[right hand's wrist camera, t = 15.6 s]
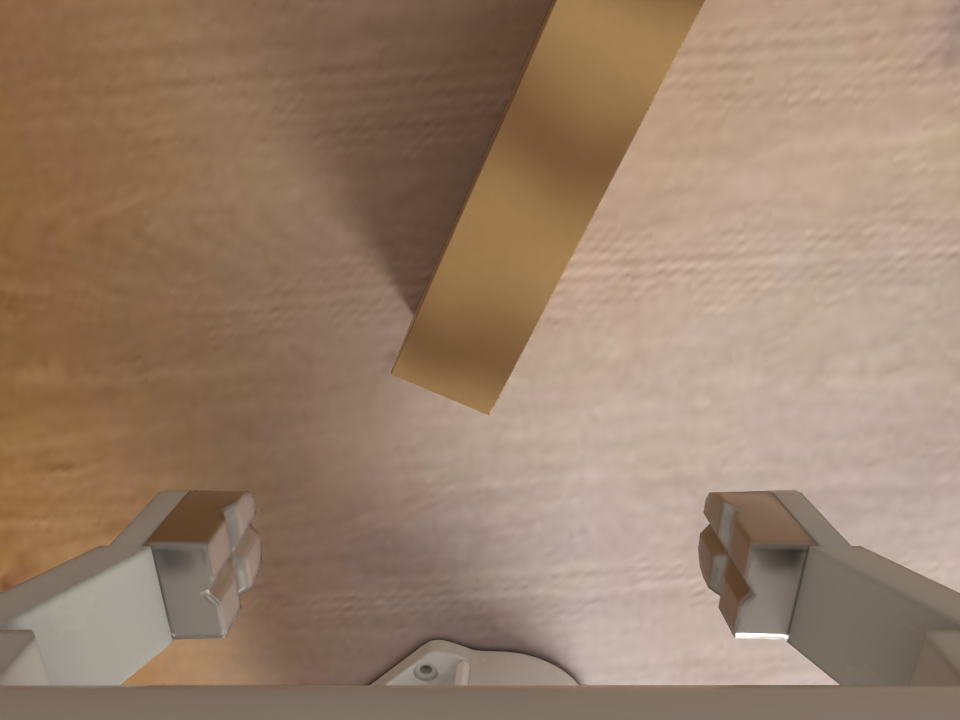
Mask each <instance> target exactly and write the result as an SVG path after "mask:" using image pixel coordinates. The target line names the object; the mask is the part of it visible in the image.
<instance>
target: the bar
mask: <svg viewBox="0 0 960 720" xmlns="http://www.w3.org/2000/svg"><path fill="white" fill-rule="evenodd" d="M704 2H705V0H552V3H551V5H550V7H549V9H548V12H547V14H546V16H545V19H544V21H543V23H542V25H541V28H540V30H539V32H538V34H537V37H536V39H535V41H534V43H533V46H532V48H531V50H530V53H529V55H528V57H527V59H526V62H525V64H524V66H523V68H522V71H521V73H520V75H519V77H518V80H517V82H516V84H515V87H514V89H513V91H512V93H511V96H510V98H509V100H508V102H507V105H506V107H505V109H504V111H503V114H502V116H501V118H500V121H499V123H498V125H497V127H496V130H495V132H494V134H493V136H492V139H491V141H490V143H489V145H488V148H487V150H486V152H485V155H484V157H483V159H482V161H481V164H480V166H479V168H478V170H477V173H476V175H475V177H474V179H473V182H472V184H471V186H470V189H469V191H468V193H467V195H466V198H465V200H464V202H463V204H462V207H461V209H460V211H459V214H458V216H457V218H456V220H455V223H454V225H453V227H452V229H451V232H450V234H449V236H448V238H447V241H446V243H445V245H444V248H443V250H442V252H441V254H440V257H439V259H438V261H437V263H436V266H435V268H434V270H433V272H432V275H431V277H430V279H429V282H428V284H427V286H426V288H425V291H424V293H423V295H422V297H421V300H420V302H419V304H418V306H417V309H416V311H415V313H414V316H413V318H412V321H411V323H410V326H409V328H408V331H407V333H406V336H405V338H404V341H403V344H402V346H401V349H400V351H399V354H398V356H397V359H396V361H395V364H394V366H393V369H392V372H391V374H392V375H395V376H397V377H400V378H402V379H404V380H407V381H409V382H411V383H414V384H416V385H418V386H421V387H423V388H426V389H428V390H430V391H433V392H435V393H437V394H440V395H442V396H445V397H447V398H449V399H452V400H454V401H456V402H459V403H461V404H463V405H466V406H468V407H471V408H473V409H475V410H478V411H480V412H482V413H485V414H487V415H490V414H491V412H492V410H493V408H494V406H495V404H496V402H497V400H498V398H499V396H500V394H501V392H502V390H503V388H504V387H505V385H506V383H507V381H508V379H509V377H510V375H511V373H512V371H513V369H514V367H515V365H516V363H517V362H518V360H519V358H520V356H521V354H522V352H523V350H524V348H525V346H526V344H527V342H528V340H529V338H530V337H531V335H532V333H533V331H534V329H535V327H536V325H537V323H538V321H539V319H540V317H541V315H542V313H543V311H544V310H545V308H546V306H547V304H548V302H549V300H550V298H551V296H552V294H553V292H554V290H555V288H556V286H557V285H558V283H559V281H560V279H561V277H562V275H563V273H564V271H565V269H566V267H567V265H568V263H569V261H570V260H571V258H572V256H573V254H574V252H575V250H576V248H577V246H578V244H579V242H580V240H581V238H582V236H583V234H584V233H585V231H586V229H587V227H588V225H589V223H590V221H591V219H592V217H593V215H594V213H595V211H596V209H597V208H598V206H599V204H600V202H601V200H602V198H603V196H604V194H605V192H606V190H607V188H608V186H609V184H610V183H611V181H612V179H613V177H614V175H615V173H616V171H617V169H618V167H619V165H620V163H621V161H622V159H623V157H624V156H625V154H626V152H627V150H628V148H629V146H630V144H631V142H632V140H633V138H634V136H635V134H636V132H637V131H638V129H639V127H640V125H641V123H642V121H643V119H644V117H645V115H646V113H647V111H648V109H649V107H650V106H651V104H652V102H653V100H654V98H655V96H656V94H657V92H658V90H659V88H660V86H661V84H662V82H663V80H664V79H665V77H666V75H667V73H668V71H669V69H670V67H671V65H672V63H673V61H674V59H675V57H676V55H677V54H678V52H679V50H680V48H681V46H682V44H683V42H684V40H685V38H686V36H687V34H688V32H689V30H690V29H691V27H692V25H693V23H694V21H695V19H696V17H697V15H698V13H699V11H700V9H701V7H702V5H703V4H704Z"/></svg>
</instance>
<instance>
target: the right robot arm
mask: <svg viewBox="0 0 960 720" xmlns="http://www.w3.org/2000/svg"><path fill="white" fill-rule="evenodd" d="M256 513H257V512H256V507H255V502H254V497H253V496H252V495H251V494H250V493H249V492H247V491H198V490H194V491H191V490H166V491H162V492H159V493H158V494H157V495H156V496H155V497H154V498H153V499H152V501H151V502H150V503H149V504H148V505H147V506H146V507H145V508H144V509H143V510H142V511H141V512H140V513H139V514H138V515H137V517H136V518H135V519H134V520H133V521H132V522H131V523H130V524H129V525H128V526H127V527H126V528H125V529H124V530H123V531H122V533H121V534H120V535H119V536H118V537H117V538H116V539H115V540H114V541H113V542H112V543H111V544H110V545H109V546H99V547H97V548H95V549H92V550H90V551H88V552H86V553H84V554H82V555H80V556H78V557H76V558H73V559H71V560H69V561H67V562H65V563H63V564H61V565H59V566H56V567H54V568H52V569H50V570H48V571H46V572H44V573H42V574H40V575H37V576H35V577H33V578H31V579H29V580H27V581H25V582H23V583H21V584H18V585H16V586H14V587H12V588H10V589H8V590H6V591H4V592H2V593H0V720H960V593H958V592H956V591H954V590H952V589H950V588H948V587H946V586H943V585H941V584H939V583H937V582H935V581H933V580H931V579H929V578H927V577H924V576H922V575H920V574H918V573H916V572H914V571H912V570H910V569H908V568H905V567H903V566H901V565H899V564H897V563H895V562H893V561H891V560H889V559H887V558H884V557H882V556H880V555H878V554H876V553H874V552H872V551H870V550H868V549H865V548H863V547H861V546H851V545H850V544H849V543H848V542H847V541H846V540H845V539H844V538H843V537H842V536H841V535H840V534H839V532H838V531H837V530H836V529H835V528H834V527H833V526H832V525H831V524H830V523H829V522H828V521H827V520H826V519H825V518H824V516H823V515H822V514H821V513H820V512H819V511H818V510H817V509H816V508H815V507H814V506H813V505H812V504H811V503H810V502H809V500H808V499H807V498H806V497H805V496H804V495H803V494H802V493H800V492H798V491H796V490H776V491H751V492H709V494H708V496H707V498H706V501H705V507H704V512H703V513H704V514H705V516H706V518H707V519H708V521H709V523H710V524H709V525H708V526H707V527H706V528H705V529H704V530H703V531H702V532H701V533H700V539H699V548H698V552H699V563H700V568H701V571H702V575H703V578H704V580H705V582H706V584H707V586H708V588H709V589H711V590H712V591H714V592H715V593H717V594H718V595H720V601H719V609H720V611H721V613H722V615H723V617H724V619H725V620H726V622H727V624H728V626H729V628H730V630H731V632H732V634H733V636H734V638H757V639H788V640H787V642H788V643H789V644H790V645H792V646H793V647H794V648H795V649H797V650H798V651H799V652H800V653H801V654H803V655H804V656H805V657H806V658H808V659H809V660H810V661H811V662H813V663H814V664H815V665H816V666H817V667H819V668H820V669H821V670H822V671H824V672H825V673H826V674H827V675H828V676H830V677H831V678H832V679H833V680H835V681H836V682H837V683H838V684H840V685H579V684H578V683H577V682H576V681H575V680H574V679H573V678H572V677H571V676H570V675H568V674H567V673H566V672H564V671H563V670H562V669H560V668H558V667H557V666H555V665H553V664H551V663H549V662H547V661H544V660H542V659H539V658H536V657H533V656H530V655H525V654H521V653H514V652H504V651H479V650H473V649H470V648H467V647H465V646H462V645H459V644H456V643H453V642H449V641H445V640H432V641H429V642H427V643H425V644H424V645H423V646H421V647H420V648H419V649H417V650H416V651H415V652H413V653H412V654H411V655H409V656H408V657H407V658H405V659H404V660H403V661H401V662H400V663H399V664H397V665H396V666H395V667H393V668H392V669H391V670H389V671H388V672H387V673H385V674H384V675H383V676H381V677H380V678H379V679H377V680H376V681H375V682H373V683H372V684H371V685H121V684H122V683H123V682H124V681H126V680H127V679H128V678H129V677H130V676H132V675H133V674H134V673H135V672H137V671H138V670H139V669H140V668H142V667H143V666H144V665H145V664H146V663H148V662H149V661H150V660H151V659H153V658H154V657H155V656H156V655H158V654H159V653H160V652H161V651H162V650H164V649H165V648H166V647H167V646H169V645H170V644H171V643H172V642H173V640H172V639H202V638H226V636H227V634H228V632H229V630H230V628H231V626H232V624H233V622H234V621H235V619H236V617H237V615H238V613H239V611H240V609H241V601H240V595H242V594H243V593H245V592H246V591H248V590H249V589H251V588H252V586H253V584H254V582H255V580H256V578H257V576H258V571H259V567H260V562H261V539H260V533H259V532H258V531H257V530H256V529H255V528H254V527H253V526H252V525H251V524H250V523H251V521H252V519H253V518H254V516H255V514H256ZM425 665H427V666H425Z"/></svg>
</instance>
